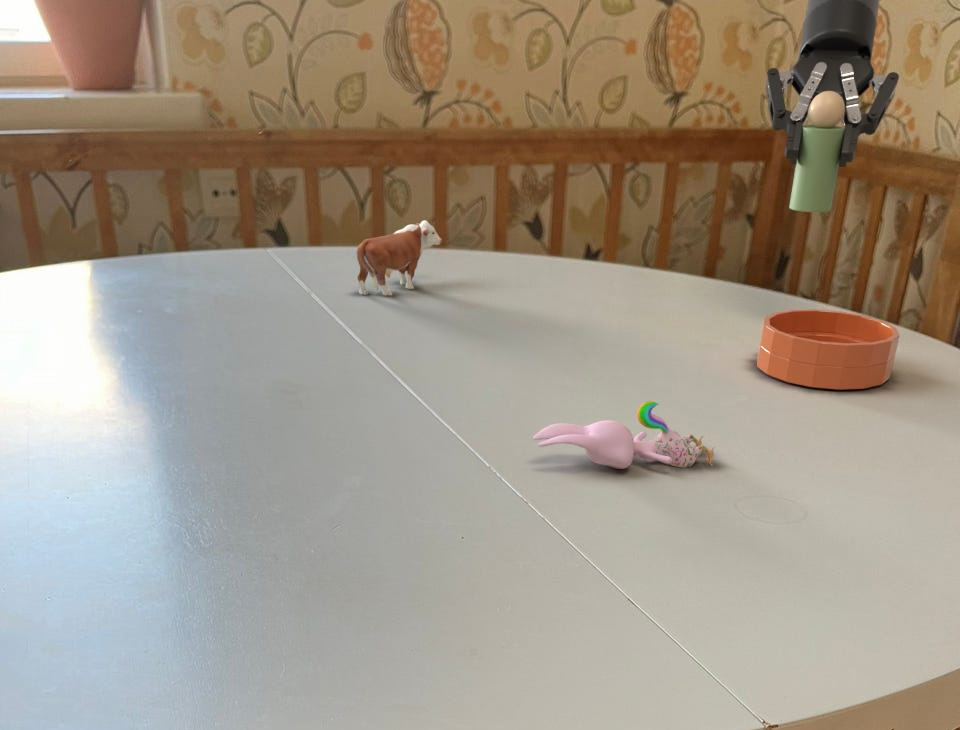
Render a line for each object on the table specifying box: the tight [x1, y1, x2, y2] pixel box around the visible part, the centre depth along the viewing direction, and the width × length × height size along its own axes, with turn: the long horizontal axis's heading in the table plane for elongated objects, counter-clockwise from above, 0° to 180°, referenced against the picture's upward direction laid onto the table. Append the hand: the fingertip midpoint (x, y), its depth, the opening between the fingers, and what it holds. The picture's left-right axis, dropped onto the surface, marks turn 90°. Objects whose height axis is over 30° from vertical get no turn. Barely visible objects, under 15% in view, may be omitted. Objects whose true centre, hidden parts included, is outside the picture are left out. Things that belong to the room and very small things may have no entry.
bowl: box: [756, 308, 901, 391], centre depth 107 cm, size 13×13×5 cm
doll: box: [788, 91, 845, 213], centre depth 111 cm, size 4×4×11 cm
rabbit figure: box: [532, 400, 716, 470], centre depth 84 cm, size 6×6×15 cm
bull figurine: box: [356, 219, 443, 297], centre depth 133 cm, size 4×13×8 cm, turn 137°
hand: (818, 160), depth 109 cm, fingers closed on doll, 4 cm apart
